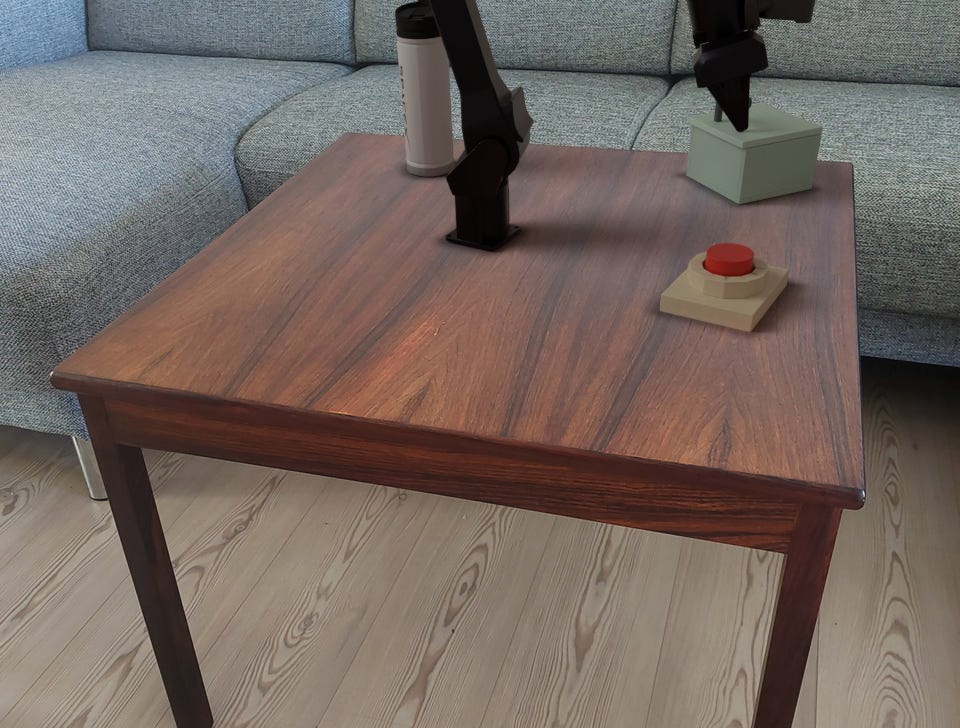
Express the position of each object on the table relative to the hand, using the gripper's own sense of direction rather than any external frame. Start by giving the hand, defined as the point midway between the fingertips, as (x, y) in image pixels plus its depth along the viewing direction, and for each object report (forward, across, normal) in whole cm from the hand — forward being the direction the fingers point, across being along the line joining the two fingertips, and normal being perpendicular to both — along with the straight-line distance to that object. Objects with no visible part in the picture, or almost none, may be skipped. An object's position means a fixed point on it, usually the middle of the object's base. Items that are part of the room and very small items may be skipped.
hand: (742, 129), depth 93 cm
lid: (+6, +21, -1) cm, 22 cm away
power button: (+9, -11, +4) cm, 15 cm away
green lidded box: (+13, +21, +1) cm, 25 cm away
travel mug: (+1, +23, +40) cm, 46 cm away
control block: (+12, -11, +4) cm, 17 cm away
